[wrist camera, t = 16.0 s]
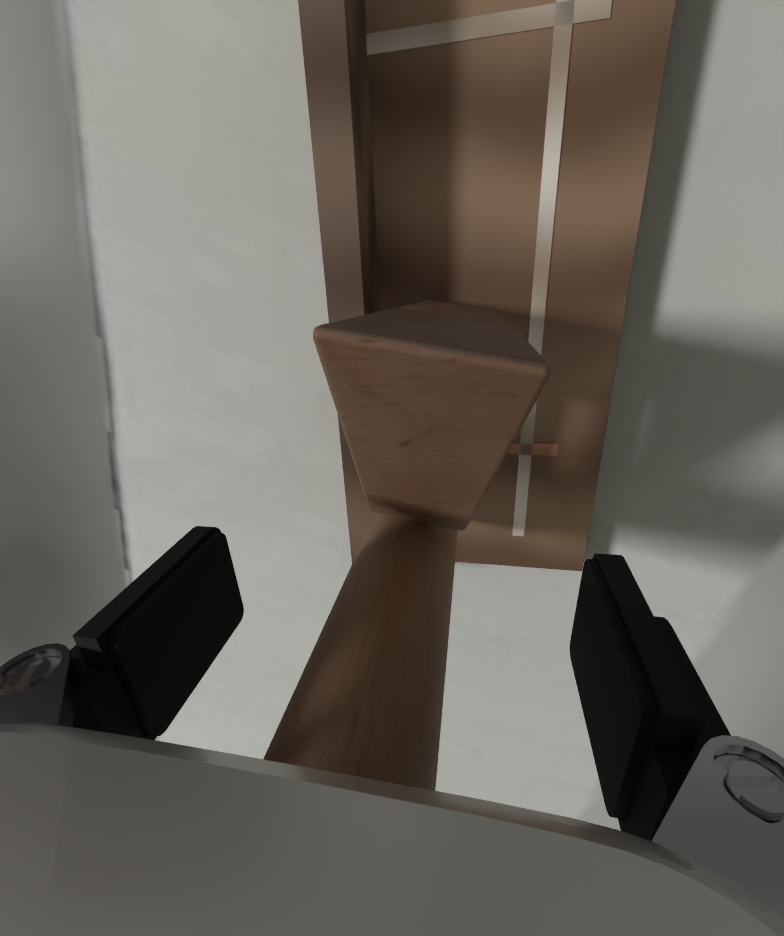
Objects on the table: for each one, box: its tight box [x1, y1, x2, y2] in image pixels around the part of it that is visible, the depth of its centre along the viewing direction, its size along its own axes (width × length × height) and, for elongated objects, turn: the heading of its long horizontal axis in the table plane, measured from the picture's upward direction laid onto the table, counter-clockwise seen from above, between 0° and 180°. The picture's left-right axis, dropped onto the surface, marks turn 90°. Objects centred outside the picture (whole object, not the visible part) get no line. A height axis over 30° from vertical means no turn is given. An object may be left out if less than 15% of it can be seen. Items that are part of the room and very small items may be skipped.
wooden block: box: [263, 300, 551, 791], centre depth 13 cm, size 4×11×18 cm, turn 172°
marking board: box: [298, 0, 676, 571], centre depth 17 cm, size 30×12×4 cm, turn 2°
